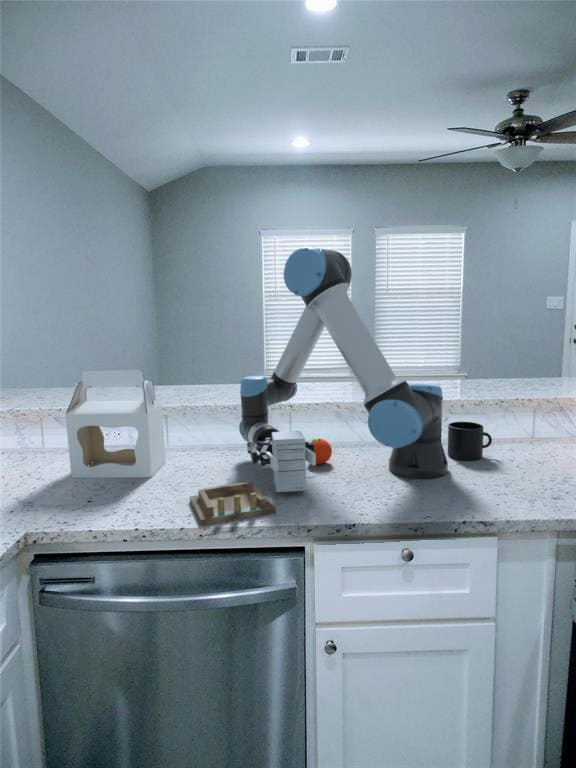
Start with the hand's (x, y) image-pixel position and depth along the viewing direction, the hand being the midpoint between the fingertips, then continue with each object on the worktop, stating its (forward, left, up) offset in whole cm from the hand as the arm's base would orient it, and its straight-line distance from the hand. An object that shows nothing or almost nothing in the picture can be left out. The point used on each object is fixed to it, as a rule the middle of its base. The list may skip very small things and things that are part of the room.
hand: (295, 462), depth 115 cm
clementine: (-15, -23, -9) cm, 29 cm away
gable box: (+37, -40, -9) cm, 55 cm away
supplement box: (0, -5, -8) cm, 9 cm away
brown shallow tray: (+15, -2, -9) cm, 17 cm away
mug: (-57, -11, -9) cm, 59 cm away
